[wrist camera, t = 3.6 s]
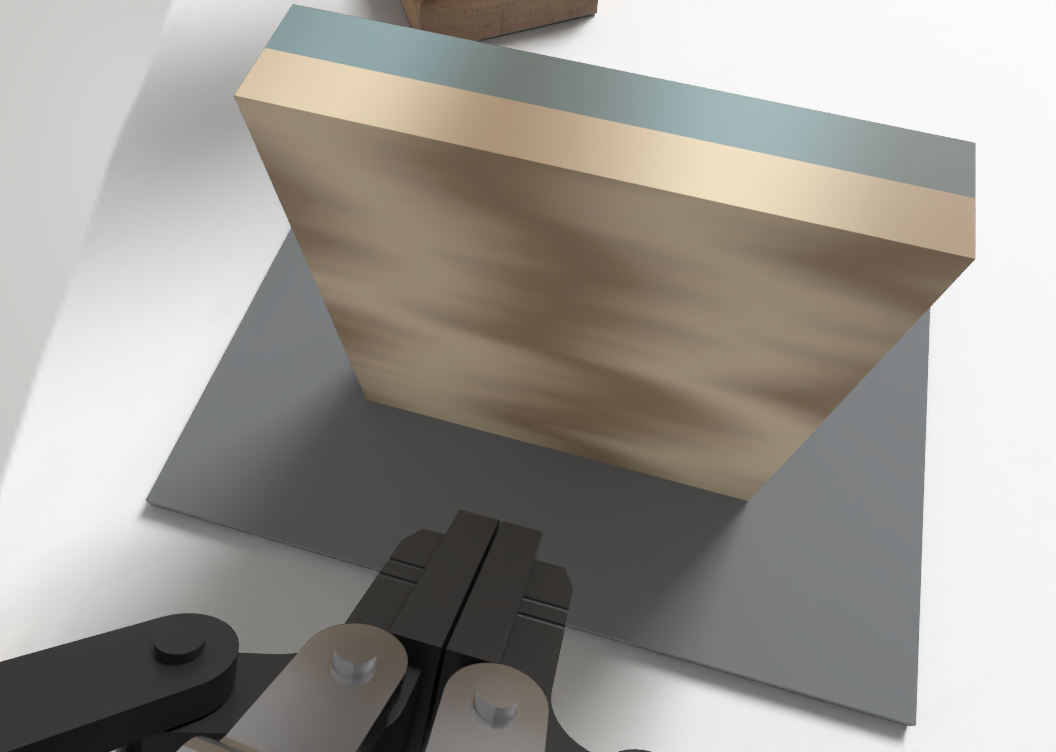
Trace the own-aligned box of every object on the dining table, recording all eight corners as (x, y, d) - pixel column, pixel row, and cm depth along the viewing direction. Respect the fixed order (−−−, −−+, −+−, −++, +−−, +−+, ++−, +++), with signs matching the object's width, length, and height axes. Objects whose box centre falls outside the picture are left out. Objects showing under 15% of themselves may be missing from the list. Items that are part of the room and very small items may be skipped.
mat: (929, 169, 28) (935, 161, 28) (908, 725, 19) (915, 725, 19) (389, 56, 30) (387, 48, 30) (152, 504, 22) (145, 500, 21)
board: (759, 429, 23) (975, 142, 12) (748, 501, 22) (975, 258, 11) (393, 335, 24) (293, 4, 13) (366, 399, 23) (233, 95, 12)
